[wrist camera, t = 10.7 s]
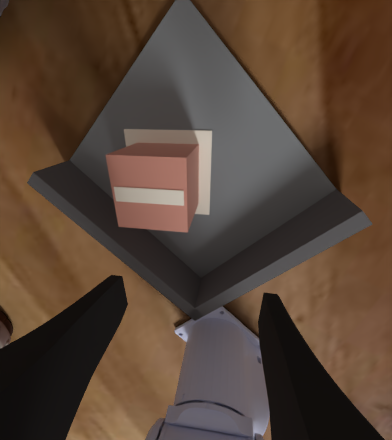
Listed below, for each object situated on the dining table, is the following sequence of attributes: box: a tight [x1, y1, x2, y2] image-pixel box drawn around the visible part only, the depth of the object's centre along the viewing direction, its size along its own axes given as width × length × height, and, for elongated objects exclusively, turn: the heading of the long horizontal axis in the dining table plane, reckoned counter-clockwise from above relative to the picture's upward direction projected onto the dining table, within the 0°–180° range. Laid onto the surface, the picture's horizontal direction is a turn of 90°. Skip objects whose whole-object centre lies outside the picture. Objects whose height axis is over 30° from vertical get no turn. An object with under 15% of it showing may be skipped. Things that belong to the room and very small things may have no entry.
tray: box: [27, 0, 372, 321], centre depth 17 cm, size 18×16×5 cm
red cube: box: [106, 143, 199, 233], centre depth 16 cm, size 5×5×5 cm
